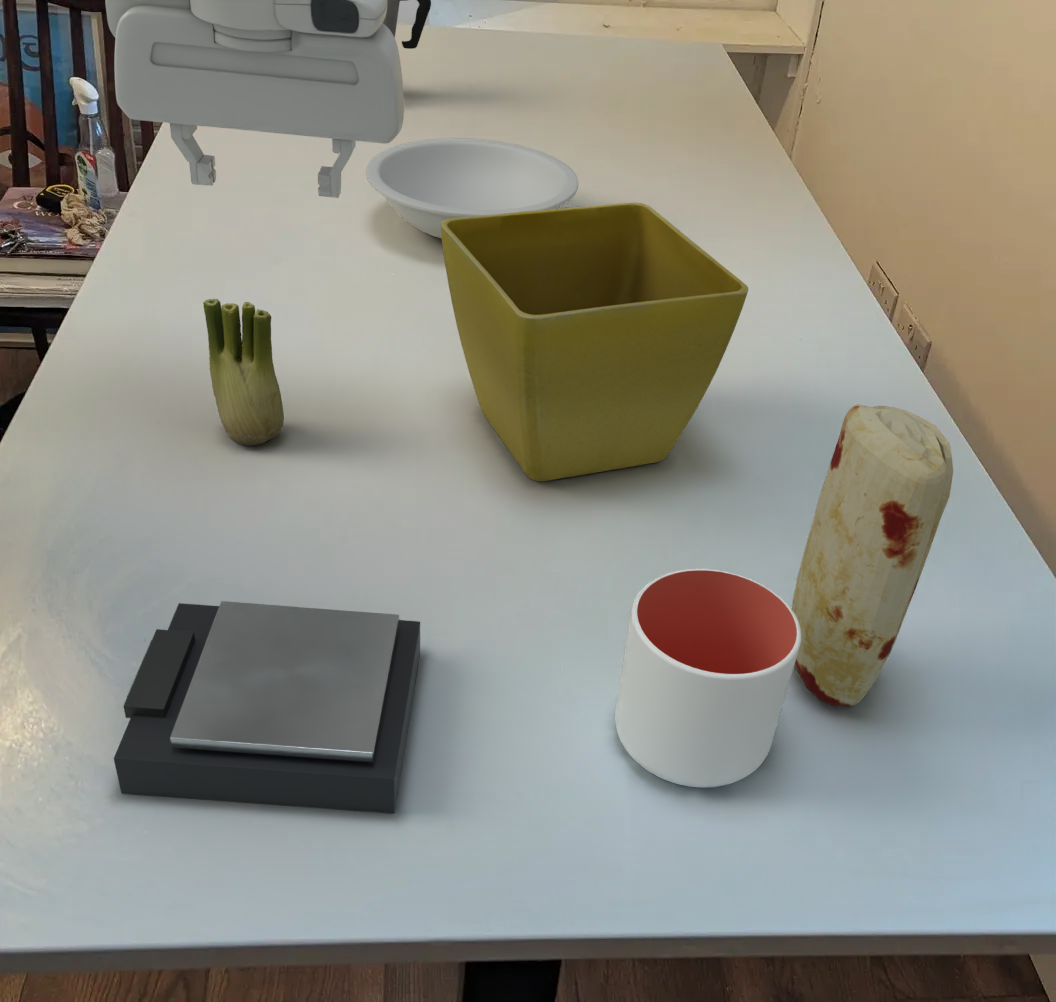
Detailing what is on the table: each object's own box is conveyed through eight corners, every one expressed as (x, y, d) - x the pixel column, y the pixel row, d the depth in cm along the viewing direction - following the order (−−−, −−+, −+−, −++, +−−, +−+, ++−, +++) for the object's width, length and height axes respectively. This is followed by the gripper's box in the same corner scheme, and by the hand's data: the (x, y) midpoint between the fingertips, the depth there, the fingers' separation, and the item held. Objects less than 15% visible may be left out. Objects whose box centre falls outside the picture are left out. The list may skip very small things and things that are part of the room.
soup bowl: (408, 284, 125) (408, 223, 121) (340, 201, 141) (338, 145, 137) (608, 260, 133) (615, 202, 129) (522, 184, 150) (526, 131, 146)
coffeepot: (318, 105, 169) (312, -35, 157) (329, 86, 176) (324, -50, 165) (426, 114, 169) (428, -25, 158) (432, 94, 176) (435, -40, 165)
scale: (112, 793, 69) (102, 749, 67) (176, 636, 80) (169, 594, 77) (394, 813, 69) (394, 771, 67) (420, 654, 80) (420, 613, 78)
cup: (784, 796, 72) (822, 677, 66) (624, 798, 71) (646, 678, 65) (748, 684, 80) (778, 567, 74) (602, 684, 79) (620, 566, 73)
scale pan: (170, 747, 68) (169, 738, 67) (222, 609, 77) (221, 600, 77) (373, 763, 68) (373, 753, 67) (399, 623, 77) (399, 614, 77)
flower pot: (432, 396, 107) (436, 216, 96) (621, 371, 113) (644, 198, 103) (508, 513, 94) (522, 318, 83) (717, 476, 100) (755, 291, 89)
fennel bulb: (208, 429, 100) (193, 297, 93) (258, 412, 103) (247, 282, 95) (245, 459, 97) (232, 325, 89) (296, 440, 100) (287, 309, 92)
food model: (756, 634, 84) (819, 385, 72) (842, 625, 86) (919, 380, 73) (810, 731, 77) (891, 474, 64) (903, 720, 78) (1000, 466, 66)
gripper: (86, -19, 77) (115, 190, 86) (398, 12, 78) (395, 217, 87) (115, -39, 82) (140, 161, 91) (409, -10, 83) (405, 186, 91)
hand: (267, 188), depth 89 cm, fingers open, 8 cm apart
